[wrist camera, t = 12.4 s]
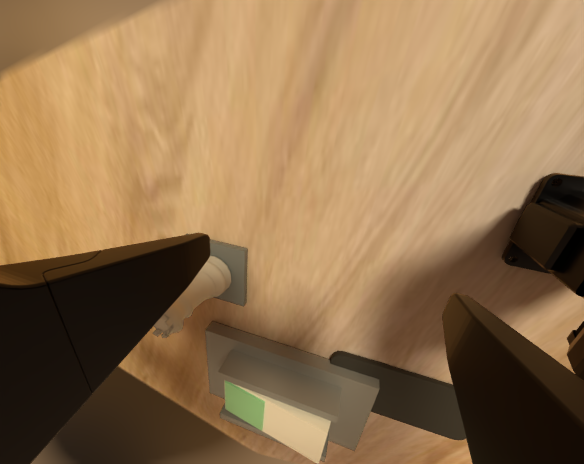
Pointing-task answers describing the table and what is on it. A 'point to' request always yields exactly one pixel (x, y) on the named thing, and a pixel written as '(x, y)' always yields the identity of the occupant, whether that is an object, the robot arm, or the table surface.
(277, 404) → the rocker
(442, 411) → the phone
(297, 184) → the table surface
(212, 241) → the rubber pad
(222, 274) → the rook chess piece
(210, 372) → the grey stand
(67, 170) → the table surface
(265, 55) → the table surface
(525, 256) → the robot arm
